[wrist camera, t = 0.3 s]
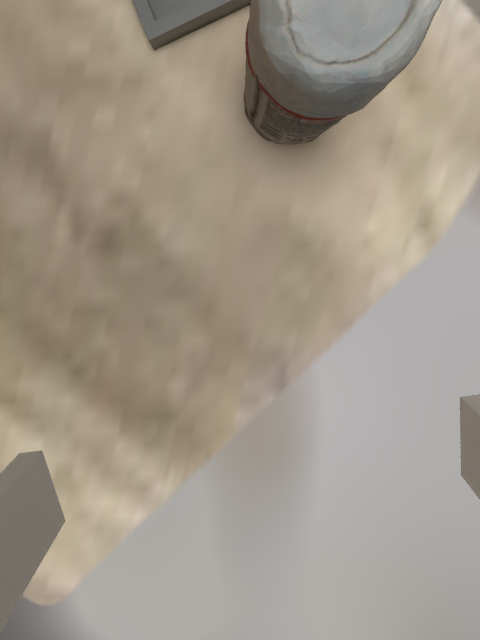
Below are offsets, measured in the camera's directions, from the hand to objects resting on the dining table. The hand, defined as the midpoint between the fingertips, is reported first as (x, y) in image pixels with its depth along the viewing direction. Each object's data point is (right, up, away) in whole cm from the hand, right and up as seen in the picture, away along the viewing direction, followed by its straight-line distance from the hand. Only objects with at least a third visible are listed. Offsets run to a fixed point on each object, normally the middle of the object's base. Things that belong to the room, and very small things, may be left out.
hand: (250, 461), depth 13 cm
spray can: (+4, +23, +22) cm, 32 cm away
